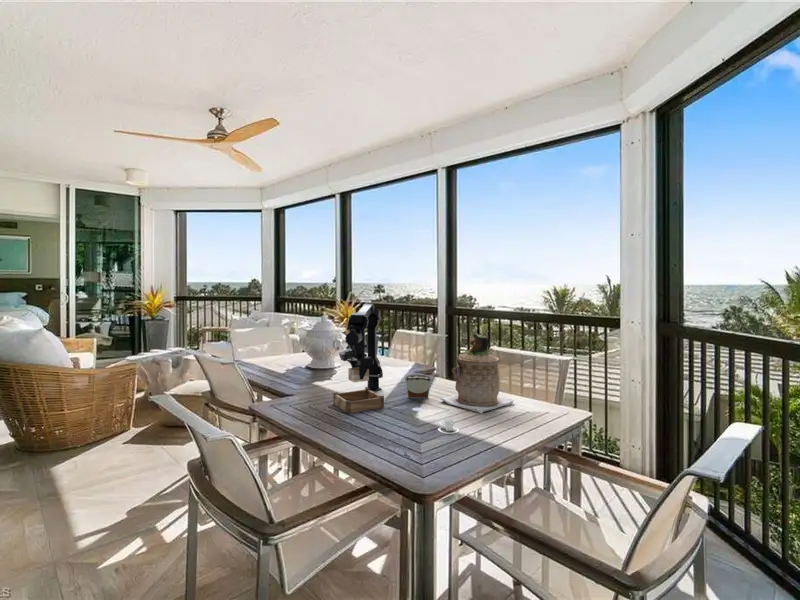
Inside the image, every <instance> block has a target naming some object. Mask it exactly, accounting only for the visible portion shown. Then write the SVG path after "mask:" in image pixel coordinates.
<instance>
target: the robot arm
mask: <svg viewBox="0 0 800 600" xmlns="http://www.w3.org/2000/svg"><path fill="white" fill-rule="evenodd" d="M381 317H382V314H381V311H380V309H379V308H377V307H376V306H375V305H374V304H373V303H363V304H362V307H361V308H360V309H359V310H358V311H357V312H352V313H351V314H350V316H349V317H348V321H347V327H346V330H347V331H349V332H348V333H347V334H346V335H345V339H344V340H345V342H346V344H347V345H348V346H349V348H346V349H343V350H342V351H340V352H338V355H339V358H340V360H341V361H343V362H348V363H349V364H350V366H351V367H350V368H356V367H359V374H360V379H363V378H364V376H365V373H366V371H367V369H369V381H367V386H366V387H365V386H364V389H365V388H369V390H371V391H373V392H374V391H381V390H383V388H382V387H380V379H382V378H384V373H383V368H382V366H381V361H380V359H379V358H378V356H377V354H378V353H377V352H378V350H377V349H378V348H377V344H378V343H377V342H378V341H377V328H378V326H379V325H380V321H381V319H382V318H381ZM366 330H367V331H366ZM366 333H367V335H366ZM366 336H367V339H366ZM366 341H367V344H366ZM366 348H367V353H366Z"/></svg>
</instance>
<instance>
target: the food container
mask: <svg viewBox="0 0 800 600" xmlns="http://www.w3.org/2000/svg"><path fill="white" fill-rule="evenodd" d="M404 381H405V382H406V390H407V392H406V393H407V398H408V399H429V393H430V386H431V385H430V384H431V382H432V378H431V376H430V375H427V374H421V373H420V374H419V373H417V374H416V373H415V374H408V375H406V377H405V379H404Z"/></svg>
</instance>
